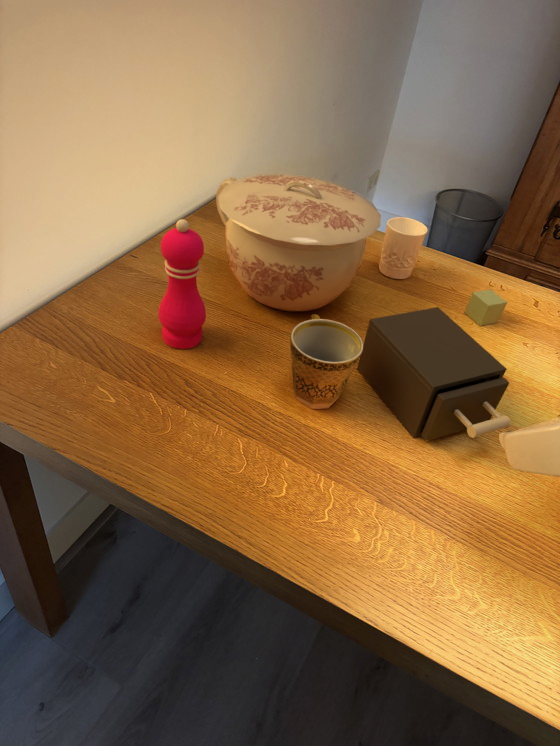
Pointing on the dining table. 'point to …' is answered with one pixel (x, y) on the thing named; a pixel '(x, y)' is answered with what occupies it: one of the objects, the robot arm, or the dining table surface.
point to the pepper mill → (182, 288)
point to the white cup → (401, 247)
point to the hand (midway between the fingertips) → (534, 429)
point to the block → (485, 307)
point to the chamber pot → (294, 237)
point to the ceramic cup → (322, 360)
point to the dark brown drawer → (466, 409)
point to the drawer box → (420, 362)
